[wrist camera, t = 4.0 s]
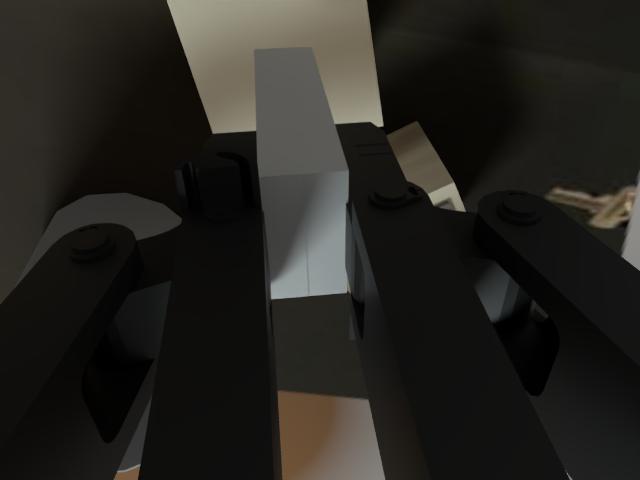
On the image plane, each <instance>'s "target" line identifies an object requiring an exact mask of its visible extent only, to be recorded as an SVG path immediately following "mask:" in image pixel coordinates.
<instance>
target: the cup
mask: <svg viewBox="0 0 640 480" xmlns="http://www.w3.org/2000/svg"><path fill="white" fill-rule="evenodd" d="M181 221H182V218H180V217H179V216H178V215H177V214H175V213H174V212H173V211H172V210H170V209H169V208H168V207H167V206H165V205H164V204H161V203H158V202H155V201H152V200H148V199H145V198H142V197H139V196H135V195H132V194H129V193H112V194H96V195H86V196H84V197H83V198H81V199H79V200H77V201H75V202H73V203H71V204H69V205H68V206H66V207H64V208H62V209H60V210H58V211H57V212H56V214H55V215H54V217H53V219H52V220H51V222H50V224H49V226H48V227H47V229H46V231H45V232H44V234H43V236H42V238H41V240H40V241H39V243H38V245H37V247H36V249H35V251H34V253H33V254H32V256H31V258H30V260H29V262H28V264H27V266H26V267H25V269H24V271H23V273H22V275H21V277H20V279H19V280H18V282H17V284H16V286H17V285H18V284H19V283H20V281H21V280H22V279H23V278H24V277H25V276H26V274H27V273H28V272H29V271H30V270H31V269H32V268H33V266H34V265H35V264H36V263H37V262H38V261H39V259H40V258H41V257H42V256H43V255H44V254H45V252H46V251H47V250H48V249H49V248H50V247H51V246H52V244H54V243H55V242H56V241H57V240H58V239H60V238H61V237H62V236H63V235H65V234H67V233H69V232H71V231H73V230H75V229H77V228H79V227H83V226H88V225H90V224H96V223H115V224H120V225H124V226H126V227H127V228H129V229H130V230H132V231H133V232H134V235H135V237H136V240H140V239H144V238H148V237H151V236H155V235H158V234H161V233H164V232H166V231H169V230H171V229H173V228H175V227H176V226H178V225H180V224H181ZM16 286H15V287H16ZM151 399H152V396H151V398H150V401H149V403H148V405H147V407H146V409H145V412H144V414H143V416H142V418H141V420H140V423H139V425H138V427H137V429H136V431H135V434H134V436H133V438H132V440H131V442H130V445H129V447H128V449H127V451H126V453H125V456H124V458H123V460H122V462H121V464H120V467H119V469H118V471H117V473H118V472H126V471H129V470H131V469H133V468H136V467H139V466H140V464H141V458H142V453H143V447H144V441H145V435H146V429H147V423H148V417H149V411H150V405H151Z"/></svg>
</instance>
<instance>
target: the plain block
mask: <svg viewBox="0 0 640 480" xmlns="http://www.w3.org/2000/svg"><path fill="white" fill-rule="evenodd" d="M167 3H168V5H169V8H170V11H171V14H172V17H173V20H174V23H175V26H176V28H177V31H178V34H179V37H180V40H181V43H182V46H183V49H184V51H185V54H186V57H187V60H188V63H189V66H190V69H191V72H192V74H193V77H194V80H195V83H196V86H197V89H198V92H199V95H200V97H201V100H202V103H203V106H204V109H205V112H206V115H207V118H208V120H209V123H210V126H211V129H212V132H213V134H214V133H229V132H245V131H256V99H255V64H254V49H272V48H290V47H309V46H311V47H312V50H313V53H314V57H315V60H316V63H317V67H318V70H319V73H320V77H321V80H322V83H323V87H324V90H325V93H326V97H327V100H328V103H329V107H330V110H331V113H332V117H333V120H334V123H335V124H343V123H358V122H372V123H373V124H374V125H376V126H377V127H381V126H383V118H382V111H381V104H380V96H379V89H378V81H377V74H376V66H375V59H374V51H373V44H372V36H371V29H370V22H369V14H368V7H367V0H167Z"/></svg>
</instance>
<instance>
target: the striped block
mask: <svg viewBox="0 0 640 480" xmlns="http://www.w3.org/2000/svg"><path fill="white" fill-rule="evenodd" d="M386 136H387V139H388V141H389V145H391V147H392V149H393V152H394V154H395V156H396V158H397V160H398V162H399V165H400V167H401V169H402V171H403V173H404V175H405V178H406V180H407V181H409V182H412V183H414V184H416V185H418V186H420V187H421V188H423V190H424V191H425V192H426V193H427V194H428V195H429V197H430V199H431V201H432V203H433V205H434V206H436V207H439V208H444V209H449V210H456V211H464V212H466V211H465V209H464V206H463V204H462V201H461V198H460V196H459V193H458V191H457V188H456V186H455V183H454V181H453V179H452V178H451V176H450V174H449V173H448V171H447V169H446V168H445V166H444V164H443V163H442V161H441V159H440V158H439V156H438V155H437V153H436V151H435V150H434V148H433V146H432V145H431V143H430V141H429V140H428V138H427V136H426V135H425V133H424V131H423V130H422V128H421V126H420V125H419V123H418V121H415V122H413V123H411V124H409V125H407V126H405V127H403V128H401V129H399V130H397V131H395V132H393V133H391V134H389V135H386ZM347 289H348V291H349V292H350V286H349V282H348V277H347Z"/></svg>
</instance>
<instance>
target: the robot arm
mask: <svg viewBox="0 0 640 480" xmlns="http://www.w3.org/2000/svg"><path fill="white" fill-rule="evenodd" d="M254 64H255V99H256V131H245V132H229V133H214V134H213V135H212V136H211V137H210V138H209V139H208V140H207V141H206V142H205V143H204V144H203V145H202V151H200V152H197V153H195V154H192V155H189V156H187V157H186V158H184V159H183V160H181V161H180V162H179V163H178V164H177V166H176V167H175V169H174V176H175V180H176V185H177V190H178V195H179V199H180V204H181V209H182V214H183V215H182V221H181V224H180V225H178V226H176V227H175V228H173V229H171V230H169V231H166V232H164V233H161V234H158V235H155V236H151V237H148V238H144V239H140V240H136V237H135V235H134V232H133V231H132V230H130V229H129V228H127V227H126V226H124V225H120V224H115V223H96V224H90V225H88V226H83V227H79V228H77V229H75V230H73V231H71V232H69V233H67V234H65V235H63V236H62V237H61V238H60V239H58V240H57V241H56V242H55V243H54V244H52V246H51V247H50V248H49V249H48V250H47V251H46V252H45V254H44V255H43V256H42V257H41V258H40V259H39V261H38V262H37V263H36V264H35V265H34V266H33V268H32V269H31V270H30V271H29V272H28V273H27V274H26V276H25V277H24V278H23V279H22V280H21V281H20V283H19V284H18V285H17V286H16V287H15V288H14V290H13V291H12V292H11V293H10V294H9V295H8V297H7V298H6V299H5V300H4V301H3V302H2V303H1V305H0V480H113V479H114V478H115V475H116V473H117V471H118V469H119V467H120V464H121V462H122V460H123V458H124V456H125V453H126V451H127V449H128V447H129V445H130V442H131V440H132V438H133V436H134V434H135V431H136V429H137V427H138V425H139V423H140V420H141V418H142V416H143V414H144V412H145V409H146V407H147V405H148V403H149V401H150V398H151V396H152V399H151V405H150V411H149V417H148V423H147V429H146V435H145V441H144V447H143V453H142V458H141V464H140V471H139V476H138V480H282V465H281V447H280V430H279V411H278V395H277V394H278V393H277V376H276V358H275V340H274V322H273V311H272V301H271V299H280V298H291V297H303V296H314V295H326V294H337V293H347V277H348V282H349V286H350V338H349V340H353V339H355V337H356V342H357V347H358V352H359V356H360V361H361V366H362V371H363V375H364V380H365V385H366V390H367V394H368V399H369V403H370V408H371V413H372V418H373V423H374V428H375V432H376V437H377V442H378V447H379V451H380V456H381V460H382V465H383V470H384V475H385V480H570V479H569V477H568V475H567V473H568V474H569V475H570V477H571V478H572V479H573V480H640V271H639V270H638V269H637V268H635V267H634V266H633V265H631V264H630V263H629V262H627V261H626V260H625V259H624V258H622V257H621V256H620V255H618V254H617V253H616V252H615V251H613V250H612V249H611V248H609V247H608V246H607V245H605V244H604V243H603V242H602V241H600V240H599V239H598V238H596V237H595V236H594V235H592V234H591V233H590V232H589V231H587V230H586V229H585V228H583V227H582V226H581V225H579V224H578V223H577V222H576V221H574V220H573V219H572V218H570V217H569V216H568V215H567V214H565V213H564V212H563V211H561V210H560V209H559V208H557V207H556V206H555V205H554V204H552V203H550V202H549V201H547V200H545V199H543V198H542V197H540V196H537V195H533V194H530V193H528V192H524V191H516V190H507V191H497V192H493V193H491V194H488V195H486V196H484V197H483V198H482V199H481V200H480V201H479V202H478V206H477V211H476V213H473V212H464V211H456V210H449V209H444V208H439V207H436V206H434V205H433V203H432V201H431V199H430V197H429V195H428V194H427V193H426V192H425V191H424V190H423V188H421V187H420V186H418V185H416V184H414V183H412V182H409V181H407V180H406V178H405V175H404V173H403V171H402V169H401V167H400V165H399V162H398V160H397V158H396V156H395V154H394V152H393V149H392V147H391V145H389V141H388V139H387V136H386V134H385V132H384V131H383V130H382V129H380V128H379V127H377V126H376V125H374V124H373V123H372V122H358V123H343V124H335V123H334V120H333V117H332V113H331V110H330V107H329V103H328V100H327V97H326V93H325V90H324V87H323V83H322V80H321V77H320V73H319V70H318V67H317V63H316V60H315V57H314V53H313V50H312V47H311V46H309V47H290V48H272V49H254ZM536 303H537V304H538V305H539V306H540V307H541V308H542V309H543V310H544V311H545V312H546V313H547V314H548V315H549V316H548V318H547V319H546V318H545V317H544V316H542V315H541V314H540V313H539V312H538V311H537V310H536V309H535V305H536ZM565 470H566V471H565ZM566 472H567V473H566Z"/></svg>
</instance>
